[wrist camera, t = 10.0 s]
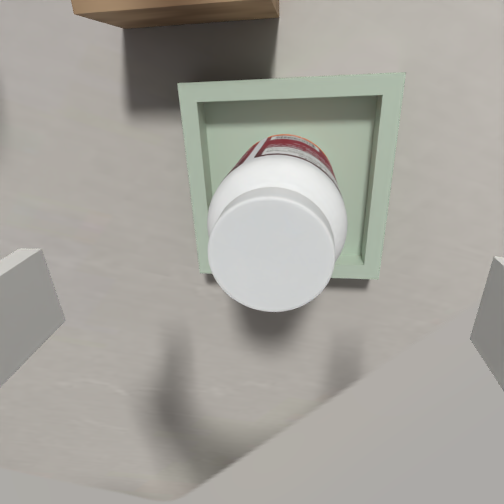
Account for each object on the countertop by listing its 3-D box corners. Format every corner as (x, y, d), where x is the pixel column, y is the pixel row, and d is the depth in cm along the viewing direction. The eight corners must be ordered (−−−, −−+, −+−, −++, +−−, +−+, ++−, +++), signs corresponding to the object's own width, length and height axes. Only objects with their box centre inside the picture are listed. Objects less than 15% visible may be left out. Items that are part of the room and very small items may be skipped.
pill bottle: (263, 241, 24) (233, 347, 15) (219, 160, 22) (151, 220, 13) (349, 205, 23) (382, 300, 13) (310, 113, 20) (314, 140, 11)
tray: (207, 259, 26) (199, 273, 25) (188, 83, 21) (177, 83, 19) (373, 264, 25) (378, 279, 23) (396, 73, 20) (405, 72, 18)
